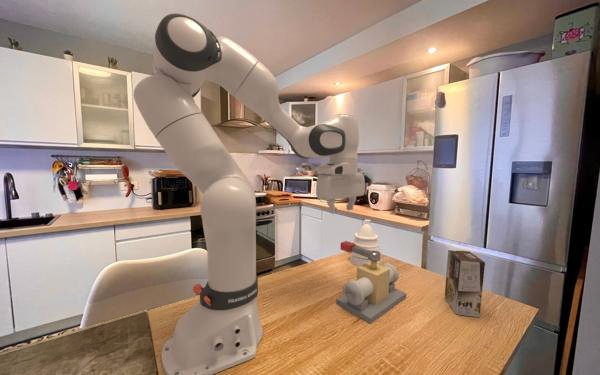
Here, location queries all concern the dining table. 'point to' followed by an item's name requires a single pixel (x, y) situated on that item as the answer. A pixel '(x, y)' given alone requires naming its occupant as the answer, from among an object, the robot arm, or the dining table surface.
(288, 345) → the dining table surface
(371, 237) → the honey pot
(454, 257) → the coffee box
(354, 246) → the lever
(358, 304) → the valve
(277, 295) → the dining table surface
